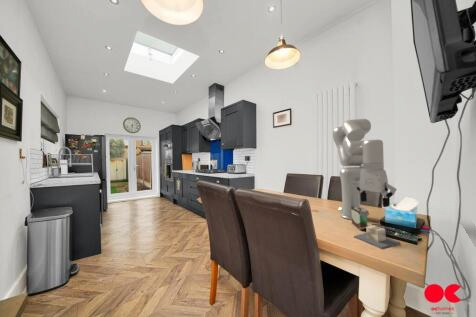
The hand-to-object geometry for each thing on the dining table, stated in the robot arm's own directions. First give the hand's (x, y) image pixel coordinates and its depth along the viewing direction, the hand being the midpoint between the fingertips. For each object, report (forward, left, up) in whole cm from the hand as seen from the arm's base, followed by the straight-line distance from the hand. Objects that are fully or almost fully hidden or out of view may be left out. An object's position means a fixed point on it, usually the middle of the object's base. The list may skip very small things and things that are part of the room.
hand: (374, 203), depth 82 cm
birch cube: (0, 0, -16) cm, 16 cm away
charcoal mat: (0, 0, -17) cm, 17 cm away
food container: (-13, +9, -17) cm, 23 cm away
